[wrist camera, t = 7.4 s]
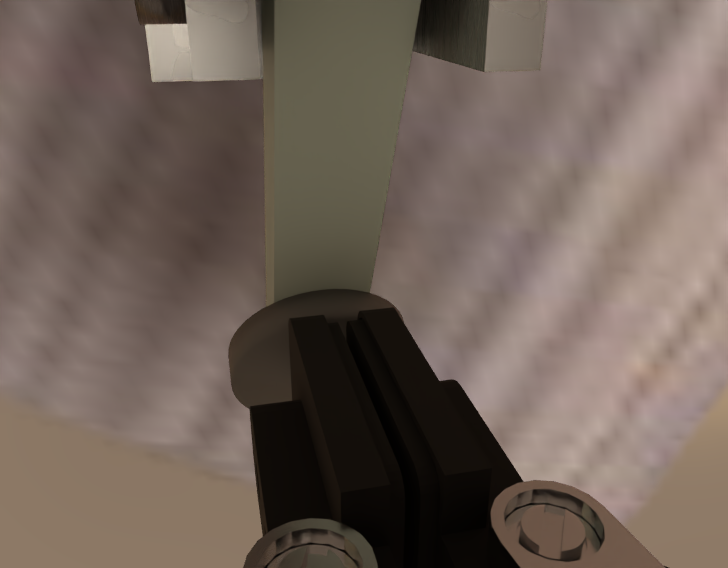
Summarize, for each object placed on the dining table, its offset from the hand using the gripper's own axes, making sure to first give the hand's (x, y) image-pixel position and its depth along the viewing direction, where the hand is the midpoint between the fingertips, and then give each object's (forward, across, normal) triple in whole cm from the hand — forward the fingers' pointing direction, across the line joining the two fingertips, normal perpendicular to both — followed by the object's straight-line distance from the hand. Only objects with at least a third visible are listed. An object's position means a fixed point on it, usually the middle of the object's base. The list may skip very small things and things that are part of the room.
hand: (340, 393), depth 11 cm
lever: (-2, 0, -10) cm, 10 cm away
